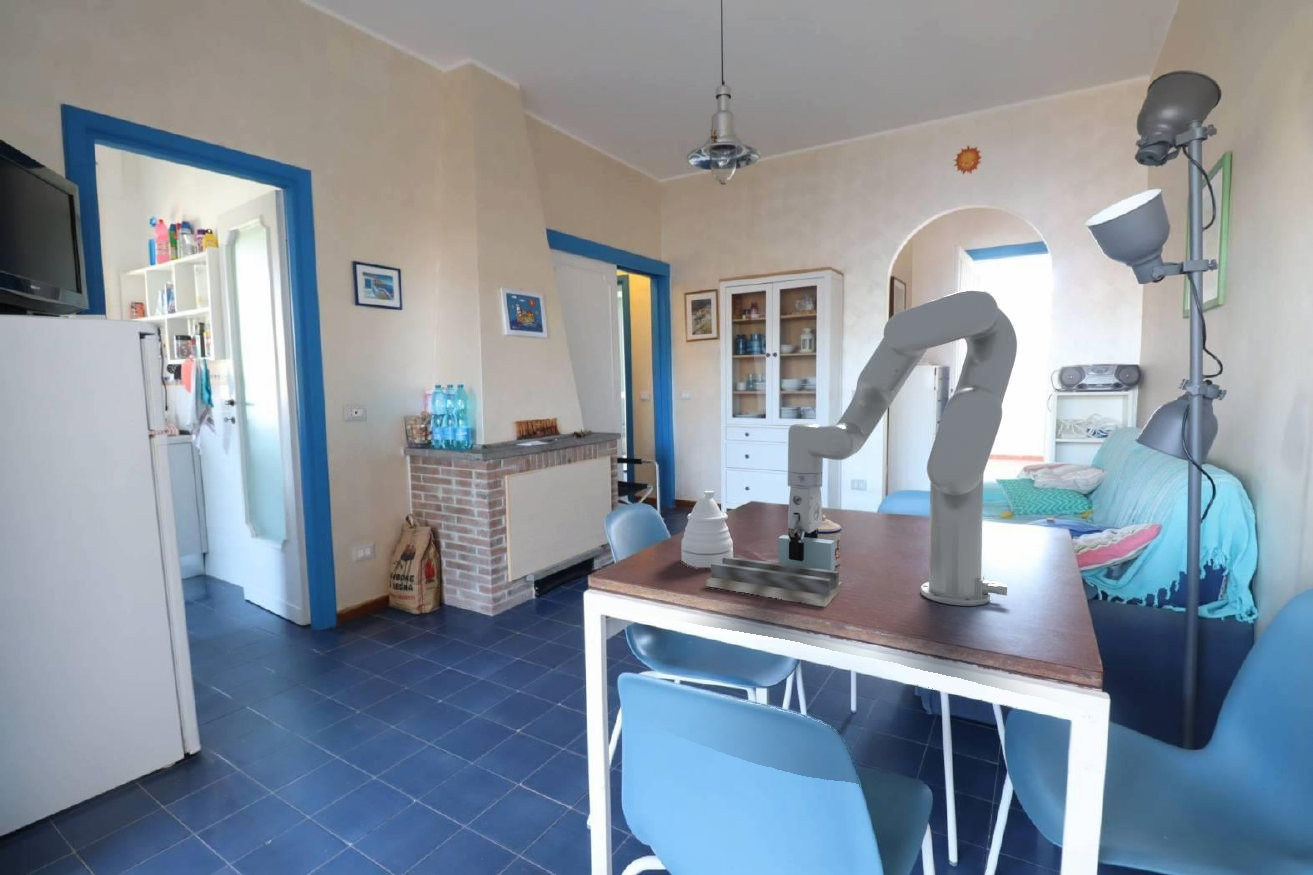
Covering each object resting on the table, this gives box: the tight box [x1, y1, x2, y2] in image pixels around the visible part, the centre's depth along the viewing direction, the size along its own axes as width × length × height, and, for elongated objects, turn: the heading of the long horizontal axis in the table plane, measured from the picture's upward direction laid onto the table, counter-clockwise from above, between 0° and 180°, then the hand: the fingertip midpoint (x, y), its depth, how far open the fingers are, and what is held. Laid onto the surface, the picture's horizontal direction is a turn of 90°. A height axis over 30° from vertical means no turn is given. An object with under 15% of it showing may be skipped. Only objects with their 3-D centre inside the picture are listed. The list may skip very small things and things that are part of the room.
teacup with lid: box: [805, 514, 842, 567], centre depth 152 cm, size 12×9×12 cm
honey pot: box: [680, 490, 734, 567], centre depth 154 cm, size 13×13×18 cm
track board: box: [705, 556, 843, 608], centre depth 132 cm, size 26×12×4 cm, turn 58°
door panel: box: [777, 534, 836, 571], centre depth 139 cm, size 12×3×9 cm, turn 58°
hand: (803, 554), depth 139 cm, fingers open, 9 cm apart
